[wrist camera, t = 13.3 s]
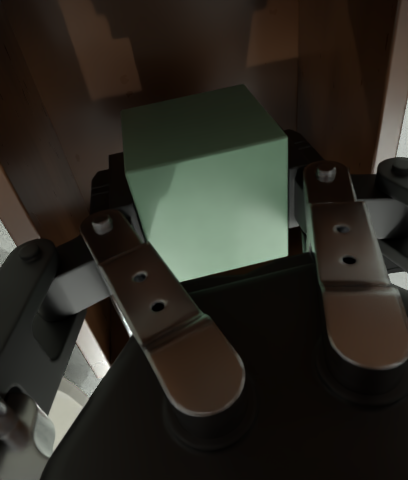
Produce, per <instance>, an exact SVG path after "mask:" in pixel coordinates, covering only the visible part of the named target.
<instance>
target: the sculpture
mask: <svg viewBox="0 0 408 480" xmlns="http://www.w3.org/2000/svg"><path fill="white" fill-rule="evenodd" d="M88 400H89V398H88V396H87V394H85V393H84V392H83V391H82V390H81V389H79V388H78V387H77V386H76V385H75V384H73V383H72V382H70V381H69V380H67V379H66V378H64V377H63V378H62V380H61V383H60V386H59V388H58V391H57V393H56V396H55V399H54V401H53V404H52V407H51V409H50V412H49V415H48V417H49V418H50V419H51V420H52V422H53V424H54V426H55V440H54V445H53V452H54V450H55V449H56V447H57V446H58V444H59V443H60V441H61V440H62V438H63V437H64V435H65V434H66V432H67V431H68V429H69V428H70V426H71V425H72V423H73V422H74V420H75V419H76V418H77V416H78V415H79V413H80V412H81V410H82V409H83V407H84V406H85V404H86V403H87V401H88Z"/></svg>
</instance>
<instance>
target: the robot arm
mask: <svg viewBox="0 0 408 480" xmlns="http://www.w3.org/2000/svg"><path fill="white" fill-rule="evenodd" d="M274 121H275V120H274ZM275 122H276V121H275ZM276 123H277V122H276ZM277 124H278V123H277ZM278 125H279V124H278ZM279 127H280V125H279ZM280 128H281V127H280ZM281 129H282V128H281ZM282 130H283V129H282ZM283 131H284V133H285V134H286V135H287V137H288V228H293V227H297V226H300V227H301V244H302V253H301V254H297V255H293V256H289V257H285V258H280V259H276V260H274V261H272V262H270V263H268V264H266V265H264V266H261V267H259V268H257V269H255V270H253V271H251V272H249V273H246V274H242V275H223V276H206V277H202V278H197V279H193V280H189V281H185V282H181V283H180V282H179V281H178V279H177V278H176V277H175V275H174V274H173V273H172V271H171V270H170V268H169V267H168V266H167V264H166V263H165V262H164V260H163V259H162V258H161V256H160V255H159V254H158V252H157V251H156V250H155V248H154V247H153V246H152V244H151V243H150V242H149V241H146V239H145V236H144V233H143V229H142V226H141V223H140V220H139V217H138V214H137V211H136V207H135V204H134V201H133V198H132V195H131V192H130V188H129V185H128V182H127V179H126V176H125V168H124V154H123V152H120V153H116V154H111V155H109V169H106V170H102V171H98V172H97V173H96V174H95V176H94V177H93V179H92V181H91V198H90V215H89V216H88V217H87V218H86V219H85V220H83V222H82V223H81V225H80V228H79V231H80V233H81V234H80V235H79V236H77V237H76V238H74V239H72V240H70V241H68V242H66V243H64V244H62V245H59V246H57V247H55V245H54V243H53V242H52V241H51V240H49V239H44V238H40V239H34V240H30V241H27V242H25V243H23V244H21V245H19V246H18V247H17V248H15V249H14V250H13V251H12V252H11V253H10V254H9V256H8V257H7V259H6V260H5V262H4V263H3V265H2V266H1V268H0V480H408V290H405V289H403V288H401V287H398V286H396V285H394V284H392V283H391V282H390V279H389V276H388V272H387V269H386V266H385V263H384V259H383V256H382V254H383V255H384V256H386V257H387V258H388V259H390V260H391V261H392V262H394V263H395V264H396V265H398V266H399V267H401V268H402V269H403V270H405V271H406V272H407V273H408V158H405V157H395V158H389V159H386V160H383V161H382V162H380V163H379V164H378V167H377V172H376V174H350V172H349V169H348V168H347V167H346V166H345V165H344V164H342V163H339V162H336V161H328V160H324V159H323V158H322V157H321V155H320V154H319V153H318V152H317V151H316V150H315V149H314V148H313V147H312V146H311V144H310V143H309V142H307V140H306V139H305V138H304V137H303V136H302V135H301V134H300V133H298V132H296V131H294V130H291V129H287V130H283ZM107 297H110V299H111V301H112V303H113V305H114V307H115V309H116V311H117V313H118V315H119V317H120V319H121V321H122V323H123V325H124V327H125V329H126V331H127V333H128V335H129V337H130V339H129V340H128V342H127V343H126V345H125V346H124V348H123V349H122V351H121V352H120V354H119V355H118V357H117V358H116V360H115V361H114V363H113V364H112V366H111V367H110V369H109V370H108V371H107V373H106V374H105V376H104V377H103V379H102V380H101V382H100V383H99V385H98V386H97V388H96V389H95V391H94V392H93V394H92V395H91V397H90V398H89V400H88V401H87V403H86V404H85V406H84V407H83V409H82V410H81V412H80V413H79V415H78V416H77V418H76V419H75V420H74V422H73V423H72V425H71V426H70V428H69V429H68V431H67V432H66V434H65V435H64V437H63V438H62V440H61V441H60V443H59V444H58V446H57V447H56V449H55V450H54V452H53V445H54V440H55V426H54V424H53V422H52V420H51V419H50V418H49V417H48V415H49V412H50V409H51V407H52V404H53V401H54V399H55V396H56V393H57V391H58V388H59V386H60V383H61V380H62V378H63V375H64V372H65V370H66V367H67V364H68V362H69V359H70V356H71V354H72V351H73V348H74V346H75V343H76V340H77V338H78V335H79V332H80V330H81V327H82V324H83V322H84V319H85V317H86V314H87V307H89V306H91V305H93V304H95V303H97V302H99V301H101V300H103V299H105V298H107Z"/></svg>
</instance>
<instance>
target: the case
mask: <svg viewBox="0 0 408 480" xmlns="http://www.w3.org/2000/svg"><path fill="white" fill-rule="evenodd" d="M240 84H244V85H245V86H246V87H247V88H248V90H249V91H250V92H251V93H252V94H253V96H254V97H255V98H256V99H257V100H258V102H259V103H260V104H261V105H262V106H263V107H264V109H265V110H266V111H267V112H268V113H269V115H270V116H271V117H272V118H273V119H274V120H275V121H276V122H277V123H278V124H279V125H280V127H281V128H282V129H283V130H287V129H291V130H294V131H296V132H298V133H300V134H301V135H302V136H303V137H304V138H305V139H306V140H307V142H309V143H310V144H311V146H312V147H313V148H314V149H315V150H316V151H317V152H318V153H319V154H320V155H321V157H322V158H323V159H324V160H328V161H336V162H339V163H342V164H344V165H345V166H346V167H347V168H348V169H349V172H350V174H376V172H377V167H378V164H379V163H380V162H382V161H383V160H386V159H389V158H395V157H396V154H397V149H398V144H399V139H400V134H401V129H402V124H403V119H404V114H405V109H406V104H407V99H408V0H0V219H1V221H2V223H3V224H4V226H5V228H6V229H7V231H8V233H9V234H10V236H11V238H12V239H13V241H14V242H15V244H16V246H17V247H18V246H19V245H21V244H23V243H25V242H27V241H30V240H34V239H40V238H44V239H49V240H51V241H52V242H53V243H54V245H55V247H57V246H59V245H62V244H64V243H66V242H68V241H70V240H72V239H74V238H76V237H77V236H79V235H80V234H81V233H80V231H79V228H80V225H81V223H82V222H83V220H85V219H86V218H87V217H88V216H89V215H90V198H91V181H92V179H93V177H94V176H95V174H96V173H97V172H98V171H102V170H106V169H109V155H111V154H116V153H120V152H123V140H122V127H121V111H122V110H124V109H129V108H134V107H138V106H143V105H148V104H152V103H157V102H162V101H166V100H171V99H175V98H180V97H185V96H189V95H194V94H199V93H203V92H208V91H213V90H217V89H222V88H227V87H231V86H236V85H240ZM301 253H302V244H301V227H300V226H297V227H293V228H288V256H286V257H289V256H293V255H297V254H301ZM281 258H285V257H281ZM277 259H280V258H277ZM274 260H276V259H273V260H269V261H265V262H261V263H257V264H252V265H248V266H244V267H240V268H236V269H232V270H228V271H223V272H219V273H215V274H211V275H207V276H223V275H242V274H246V273H249V272H251V271H253V270H255V269H257V268H259V267H261V266H264V265H266V264H268V263H270V262H272V261H274ZM203 277H206V276H203ZM199 278H202V277H199ZM195 279H197V278H195ZM190 280H193V279H190ZM186 281H189V280H186ZM182 282H185V281H182ZM180 283H181V282H180ZM129 339H130V337H129V335H128V333H127V331H126V329H125V327H124V325H123V323H122V321H121V319H120V317H119V315H118V313H117V311H116V309H115V307H114V305H113V303H112V301H111V299H110V297H107V298H105V299H103V300H101V301H99V302H97V303H95V304H93V305H91V306H89V307H87V314H86V317H85V319H84V322H83V324H82V327H81V330H80V332H79V335H78V338H77V340H76V344H77V346H78V348H79V349H80V351H81V352H82V354H83V356H84V357H85V359H86V361H87V362H88V364H89V366H90V367H91V369H92V370H93V372H94V374H95V375H96V377H97V378H98V379H99V378H103V377H104V376H105V374H106V373H107V371H108V370H109V369H110V367H111V366H112V364H113V363H114V361H115V360H116V358H117V357H118V355H119V354H120V352H121V351H122V349H123V348H124V346H125V345H126V343H127V342H128V340H129Z"/></svg>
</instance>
